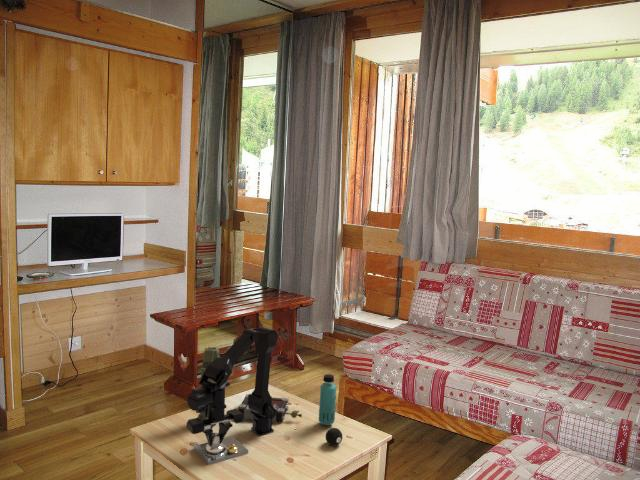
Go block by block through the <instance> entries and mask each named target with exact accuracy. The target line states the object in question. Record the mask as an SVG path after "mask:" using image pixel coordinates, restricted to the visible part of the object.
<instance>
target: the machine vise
mask: <svg viewBox="0 0 640 480" xmlns="http://www.w3.org/2000/svg"><path fill="white" fill-rule="evenodd" d="M249 394H250V393H249ZM249 394H248V393H247V394H245V395H244V398H243V400H242V402H241V403H240V404H239V405H238V408H237V410H239V411H240V412H241V413H242V414H243V415H244V420H245V421H253V419H254V415H255V414H252V413H251V412H250V409H249V407H248V405H247V403H248V395H249ZM271 400H272V406H273V407H274V408H275V409H276V410H277V412H276V416H275V417H273V419H272V424H273V423H274V424H275V423H283V422H284V421H285V416H286V415H290V416H291V417H292V418H293V419H295V418H297V417H300V418H302V415H303V413H301V414H299V412H300V410H294V409H293V410H292V412H288V410H289V405H287V404H289V402H290V401H289V400H290V398H289V397H272V396H271Z"/></svg>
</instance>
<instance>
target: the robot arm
mask: <svg viewBox="0 0 640 480" xmlns="http://www.w3.org/2000/svg"><path fill="white" fill-rule="evenodd" d="M278 337H279V335H278V332H277V331H276V330H275V329H273V328H268V327H265V326H259V327H257V328H253V327H252V328H246V329H244V330H243V332H242V334H241V335H240V336H239V338H238V337H237V339H236V340H235V342H234V343H233V344H232V345H231V346H230V347H229V349H227V350H226V352H225V353H224V354H223V355H222V356H220V358H217V359H215V360H214V361H212V362H211V363H210V364H209V365H208V366H207V367H206V370H205V372H204V374H203V376H202V378H201V377H200V378H201V380H200V379H199V382H198V385H199V386H198V387H195V388H192V389H191V392H190V393H189V394H188V395H187V398H186V402H187V403H186V404H187V405H188V408H190V410H192V411H193V412H194V411H195V413H196V414H200V413H201V415H202V414H204V417H205V418H206V417H207V420H202V421H201V420H200V419H199V418H198V417H194V418H191V419H187V422H186V429H187V430H188V431H189V432H190V433H191V434H193V435H197V434H200V433H203V434H204V435H205V437H206V440H207V443H208V444H209V446H212V437H213V433H214V430H213V428H212V429H211V425H212V424H216V425H217V424H218V433H219V434H220V444H221V442H222V440H223V439H224V438H226V437H225V436H226V435H227V433H228V432H229V430H230V429H231V428H232V427H233V425H234V424H241V423H243V422H244V420H245V419H244V415H243V414H242V413H241V412H240V411H239V410H238V408H233V409H229V410H226V412H225V409H227V404H226V401H225V400H226V387H229V386H231V383H230V382H228V379H229V378H230V376H231V375H232V373H233V370H234V369H233V368H234V366H235V365H236V363H237V362H238V361H239V360H240V359H241V357H243V356H244V354H245V353H246V351H248V350H249V348H251V346H252V345H253V344H254V345H255V348H256V350H257V358H256V370H255V382H254V388H253V391H252V393H249V395H248V403H247V405H248V407H249V409H250V412H251V413H252V414H255V415H254V419H253V420H252V424H251V425H252V426H251V430H252V432H254V433H255V434H257V435H258V436H263V435H267V434H270V433H274V432H275V429H273V423H272V419H273V417H275V416H276V412H277V410H276V409H275V408H274V407H273V406H272V400H271V397H272V396H271V394H270V392H269V383H270V372H271V371H270V370H271V359H272V352H273V351H274V349H275V348H276V346H277V343H278ZM208 379H209V380H211V381H214V383H211V382H208V381H207V380H208ZM200 385H201V387H200ZM232 420H233V422H234V424H233V423H232Z"/></svg>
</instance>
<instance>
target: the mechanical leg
mask: <svg viewBox="0 0 640 480" xmlns="http://www.w3.org/2000/svg"><path fill="white" fill-rule="evenodd" d="M220 357H221V353H220V349H218V348H216V347H214V346H213V347H211V346H210V347H205V348H204V353H203V359H202V366H201V372H200V379H199V381H200V380H201V378H202V376H203V374H204V372H205V370H206V367H207V366H208V365H209V364H210V363H211V362H212V361H214V360H215V359H217V358H220ZM207 381H208V382H211V383H215V382H214V381H211V380H209V379H208V380H207ZM199 387H201V385H199ZM197 418H199V419H200V420H201V421H202V420H207V417H206V418H205V417H204V414H202V415H201V413H198V415H197ZM215 425H217V423H216V424H212V425H211V429H212V430H213V428H214V426H215Z"/></svg>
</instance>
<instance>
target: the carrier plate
mask: <svg viewBox="0 0 640 480" xmlns="http://www.w3.org/2000/svg"><path fill="white" fill-rule="evenodd" d="M221 443H223V444H224V451H223V452H222V453H220V454H216V455H212V454H208V453H207V452H206V445H207V444H208V442H204V443H201V444H199V443H198V442H193V450H194V451H195V452H196V454H197V455H198V456H199V457H200V458H201V460H203V461H204V462H205V463H206V465H208V466H209V465H212V464H216V463H219V462H222V461H226V460H229V459H233V458H236V457H239V456H242V455H246V454H247V455H248V454H249V449H247V448H246V447H245V446H244V445H243V444H242V443H241V442H240V441H239V440H238V439H237V438H235V436H233V435H231V436H230V435H229V436H227V437H224V439H223V440H222V442H221Z"/></svg>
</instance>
